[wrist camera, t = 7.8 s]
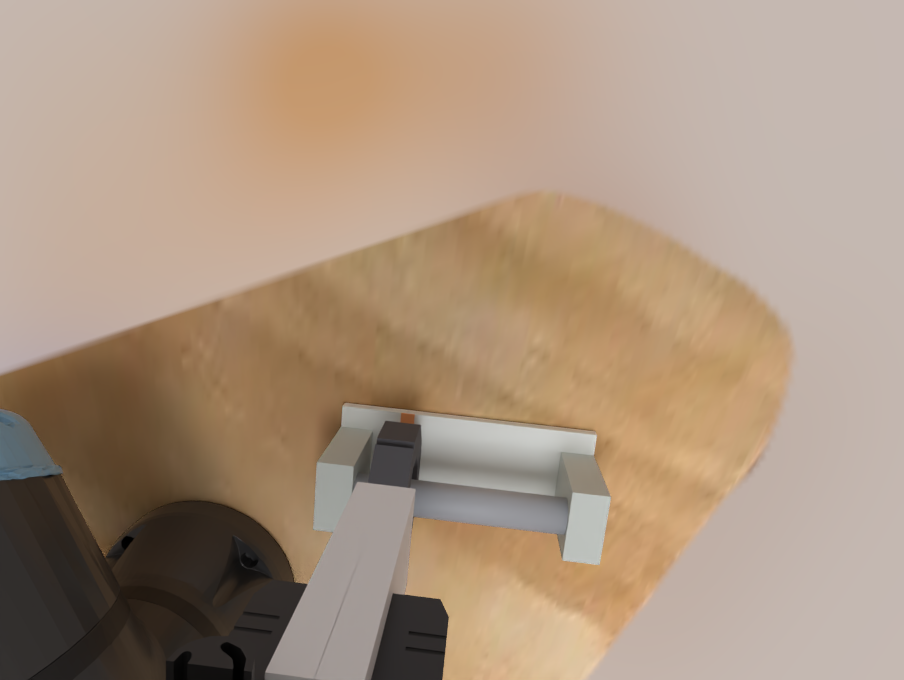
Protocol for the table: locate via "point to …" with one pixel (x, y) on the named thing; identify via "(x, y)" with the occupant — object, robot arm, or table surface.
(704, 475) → the table surface
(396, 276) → the table surface
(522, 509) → the pipe rig
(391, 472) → the o-ring
